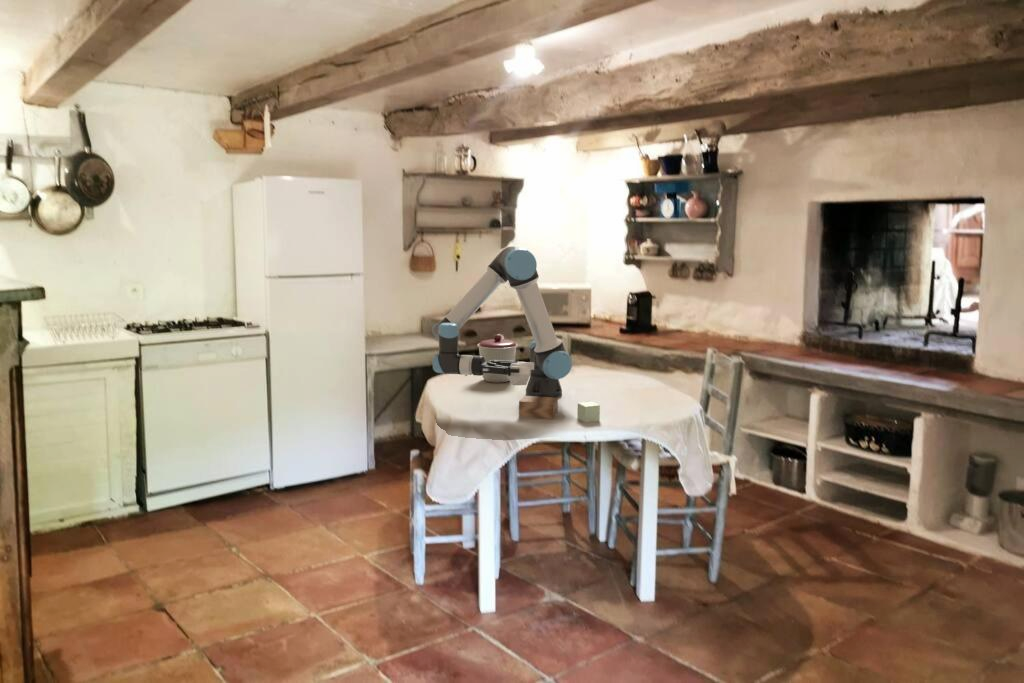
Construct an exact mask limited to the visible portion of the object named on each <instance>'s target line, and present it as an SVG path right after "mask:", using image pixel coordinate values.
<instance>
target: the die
mask: <svg viewBox="0 0 1024 683" xmlns="http://www.w3.org/2000/svg"><path fill="white" fill-rule="evenodd" d="M511 366H517V367H527V365H526V363H511V365H510V367H511ZM530 374H531V372H530V370H529V375H525V374H511V376H508V375H507V377H508V379H509V380H510V381H509V382H510V384H511V385H512V386H527V385H528V382H529V379H530Z"/></svg>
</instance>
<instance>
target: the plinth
mask: <svg viewBox="0 0 1024 683" xmlns="http://www.w3.org/2000/svg"><path fill="white" fill-rule="evenodd" d="M558 403H559V397H558V398H553V397H537V396H526V395H523V397H522V398H521V399H520V400H519V401H518V417H519V418H530V419H531V418H532V419H545V420H554V419H555V418H556V416H557V415H558V414H559V412H558V408H559V404H558Z"/></svg>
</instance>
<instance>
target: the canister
mask: <svg viewBox="0 0 1024 683" xmlns="http://www.w3.org/2000/svg"><path fill="white" fill-rule="evenodd" d="M518 344H519V343H517V342H515V341H513V340H510V339H505V338H504V339H503V338H502V335H501V334H494V336H493V339H486V340H481V341H480V342H479V343H477V347H478V354H479V356H483V357H484V358H485V361H486V362H489V360H516V354H517V348H518V347H519V345H518ZM482 378H483V380H484V381H486V382H489V383H493V384H494V383H508V382H510V380H509V379H508V377H507V375H503V374H493V373H484V374H483V375H482Z"/></svg>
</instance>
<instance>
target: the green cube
mask: <svg viewBox="0 0 1024 683" xmlns="http://www.w3.org/2000/svg"><path fill="white" fill-rule="evenodd" d="M600 411H601V405H600V404H599V403H596V402H594V401H584V402H577V416H576V417H577V419H578V420H579V419H580V420H579V421H581V420H582V421H581V422H583V421H584V423H592V422H591V421H594V422H600V420H601V419H600V415H601V412H600Z"/></svg>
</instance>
